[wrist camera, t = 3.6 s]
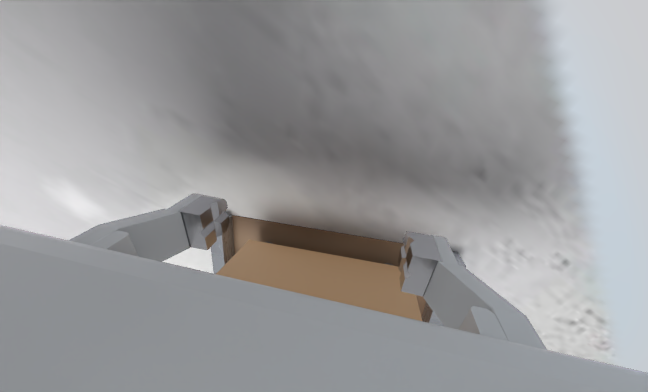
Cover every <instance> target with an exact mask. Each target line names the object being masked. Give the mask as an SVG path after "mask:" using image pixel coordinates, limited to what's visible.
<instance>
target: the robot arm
mask: <svg viewBox="0 0 648 392" xmlns="http://www.w3.org/2000/svg"><path fill="white" fill-rule="evenodd" d="M227 208H228V207H227V202H226V200H224V199H221V198H216V197H211V196H206V195H201V194H191V195H189V196H188V197H186V198H184V199H183V200H181V201H180V202H178V203H176V204H175V205H173V206H172V207H170V208H168V209H161V210H157V211H153V212H149V213H145V214H141V215H137V216H133V217H129V218H125V219H121V220H117V221H113V222H108V223H104V224H100V225H97V226H95V227H93V228H91V229H90V230H88V231H86V232H84V233H82V234H80V235H78V236H76V237H74V238H72V239H71V240H64V239H60V238H56V237H51V236H47V235H43V234H38V233H34V232H29V231H25V230H21V229H16V228H12V227H8V226H3V225H0V392H648V373H646V372H642V371H638V370H634V369H629V368H625V367H620V366H616V365H612V364H607V363H603V362H598V361H594V360H590V359H585V358H581V357H576V356H572V355H568V354H563V353H559V352H555V351H550V350H547V349H546V347H545V346H544V344H543V342H542V341H541V339H540V337H539V336H538V334H537V333H536V331H535V329H534V328H533V326H532V325H531V323H530V321H529V320H528V318H527V317H526V316H525V315H524V314H523V313H522V312H520V311H519V310H518V309H517V308H515V307H514V306H513V305H511V304H510V303H509V302H508V301H506V300H505V299H504V298H503V297H501V296H500V295H499V294H498V293H496V292H495V291H494V290H493V289H491V288H490V287H489V286H488V285H486V284H485V283H484V282H482V281H481V280H480V279H479V278H477V277H476V276H475V275H474V274H472V273H471V272H470V271H469V270H467V269H466V268H465V267H464V266H462V265H458V263H457V261H456V259H455V256H454V254H453V252H452V250H451V247H450V245H449V243H448V240H447V238H445V237H442V236H435V235H427V234H421V233H414V232H408V231H406V233H405V235H404V238H403V241H404V246H402V247H401V248H400V252H399V258H398V270H399V271H400V272H401V274H400V278H399V279H400V288H401V291H402V292H406V293H410V294H414V295H418V296H423V298H424V299H425V301H426V302H427V303H428V305H429V306H430V307H431V309H432V310H433V312H434V313H435V314H436V316H437V317H438V318H439V320H440V321H441V322H442V324H443V325H444V326H441V325H436V324H432V323H428V322H423V321H419V320H415V319H410V318H406V317H401V316H397V315H392V314H388V313H383V312H379V311H375V310H370V309H366V308H362V307H357V306H353V305H349V304H344V303H340V302H336V301H331V300H327V299H322V298H318V297H314V296H309V295H305V294H301V293H296V292H292V291H288V290H283V289H279V288H274V287H270V286H266V285H261V284H257V283H252V282H248V281H244V280H239V279H235V278H230V277H226V276H222V275H217V274H213V273H208V272H204V271H200V270H195V269H191V268H187V267H182V266H178V265H173V264H169V263H165V262H162V261H164V260H166V259H168V258H170V257H172V256H174V255H176V254H178V253H180V252H182V251H184V250H186V249H188V248H190V247H193V248H199V249H204V250H208V249H209V248H210V247H211V246H212V245H213V244H214V243H215V242H216V241H217V237H218V236H221V235H223V234H224V233H225V232H226V230H227V228H228V226H229V215H228V214H227V213H226V209H227Z"/></svg>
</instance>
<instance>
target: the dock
mask: <svg viewBox="0 0 648 392" xmlns="http://www.w3.org/2000/svg"><path fill="white" fill-rule="evenodd" d="M248 240H254V241H260V242H266V241H269V242H272V243H273V244H276V245H282V246H288V247H293V248H299V249H304V250H310V251H315V252H321V253H326V254H332V255H337V256H343V257H348V258H354V259H359V260H365V261H370V262H376V263H381V264H384V263H391V264H393V265H394V266H398V258H399V252H400V248H401V247H402V246H404V244H403V243H397V242H391V241H385V240H379V239H373V238H367V237H361V236H355V235H349V234H343V233H337V232H330V231H324V230H318V229H312V228H306V227H300V226H294V225H288V224H282V223H276V222H270V221H264V220H258V219H252V218H246V217H240V216H234V215H229V226H228V228H227V230H226V232H225V233H224V234H223V235H221V236H218V237H217V241H216V242H215V243H214V244H213V245H212V246H211V252H212V261H213V270H214V274H216V273H217V272H218V271H219V270H220V269H221V268H222V267H223V266H224V265H225V264H226V263H227V262H228V261H229V260H230V259H231V258H232V257H233V256H234V255H235V254H236V253H237V252H238V251H239V250H240V249H241V248H242V247H243V246H244V244H245V243H246V242H247V241H248ZM453 254H454V256H455V259H456V261H457V263H458V265H462V266H464V267H465V268H466V265H465V264H464V262H463V260H462V259H461V257H460V255H459V254H458V253H455V252H453ZM416 297H417V301H418V305H419V310H420V314H421V318H422V321H423V322H428V323H432V324H436V325H441V326H444V325H443V324H442V322H441V321H440V320H439V318H438V317H437V316H436V314H435V313H434V312H433V310H432V309H431V307H430V306H429V305H428V303H427V302H426V301H425V299H424V298H423V296H418V295H416Z"/></svg>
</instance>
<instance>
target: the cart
mask: <svg viewBox="0 0 648 392" xmlns="http://www.w3.org/2000/svg"><path fill="white" fill-rule="evenodd" d="M216 274H217V275H222V276H226V277H230V278H235V279H239V280H244V281H248V282H252V283H257V284H261V285H266V286H270V287H274V288H279V289H283V290H288V291H292V292H296V293H301V294H305V295H309V296H314V297H318V298H322V299H327V300H331V301H336V302H340V303H344V304H349V305H353V306H357V307H362V308H366V309H370V310H375V311H379V312H383V313H388V314H392V315H397V316H401V317H406V318H410V319H415V320H419V321H422V318H421V314H420V310H419V305H418V301H417V297H416V295H414V294H410V293H406V292H402V291H401V288H400V279H399V278H400V274H401V272H400V271H399V270H398V266H394V265H393V264H391V263H384V264H381V263H376V262H370V261H365V260H359V259H354V258H348V257H343V256H337V255H332V254H326V253H321V252H315V251H310V250H304V249H299V248H293V247H288V246H282V245H276V244H273V243H272V242H269V241H266V242H260V241H254V240H248V241H247V242H246V243H245V244H244V246H243V247H242V248H241V249H240V250H239V251H238V252H237V253H236V254H235V255H234V256H233V257H232V258H231V259H230V260H229V261H228V262H227V263H226V264H225V265H224V266H223V267H222V268H221V269H220V270H219V271H218V272H217V273H216Z"/></svg>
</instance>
